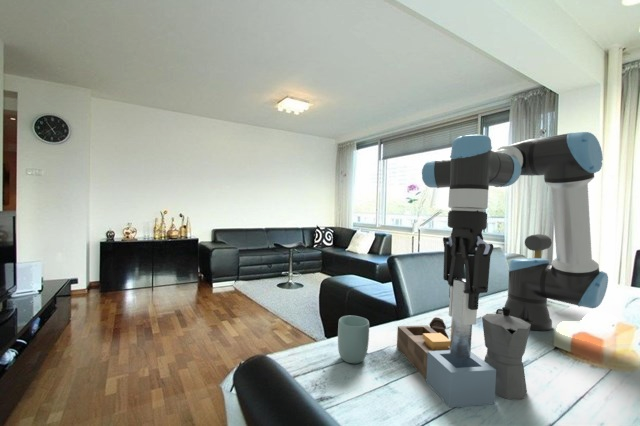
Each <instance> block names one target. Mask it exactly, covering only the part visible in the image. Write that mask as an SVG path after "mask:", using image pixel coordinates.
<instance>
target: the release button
mask: <svg viewBox="0 0 640 426" xmlns="http://www.w3.org/2000/svg"><path fill="white" fill-rule="evenodd" d="M423 339H424V340H425V344H426V345H428V346H429V347H430V348H431V349H432V350H445V349H448V346H450V340H451V339H450V338H449V339H448V338H447V337H445V336H444V335H443V334H441V333H423Z"/></svg>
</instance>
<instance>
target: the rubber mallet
mask: <svg viewBox="0 0 640 426" xmlns="http://www.w3.org/2000/svg"><path fill="white" fill-rule="evenodd" d="M524 246H525V247H526V248H527V249H528V250H529V251H532V252H533V251H534V255H533V256H534V257H533V258H541V259H542V251H544V250H548V249H549V248H551V246H552V239H551V238H550V237H549V236H548V235H546V234H538V233H537V234H531V235H528V236H527V237H526V238H525V239H524Z"/></svg>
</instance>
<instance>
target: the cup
mask: <svg viewBox="0 0 640 426" xmlns="http://www.w3.org/2000/svg"><path fill="white" fill-rule="evenodd" d="M337 326H338V328H337V350H338V354H339V357H340V358H341V359H342V360H343V361H344V362H345V363H348V364H360V363H362V362H363V361H364V360H365V359H366V356H367V354H368V353H367V352H368V349H369V342H370V341H369V340H370V339H369V338H370V321H369V320H368V319H367V318H365V317H362V316H358V315H350V314H349V315H343V316H341V317H340V318H339V319H338V325H337Z"/></svg>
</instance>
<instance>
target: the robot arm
mask: <svg viewBox="0 0 640 426" xmlns="http://www.w3.org/2000/svg"><path fill="white" fill-rule="evenodd" d="M601 147H602V146H601V143H600V141H599V139H598V138H597V136H595V135H594V134H593V133H591V132H589V131H581V132H578V131H577V132H569V133H568V132H567V133H564V134H556V135H550V136H545V137H537V138H530V139H527V140H523V141H519V142H516V143H512V144H509V145H504V146H501V147H498V149H496V150H492V149H493V147H492V140H491V137H490V136H488V135H485V134H467V135H462V136H458V137H456V138H455V139H454V140H453V141H452V143H451V152H450V156H449V157H448V158H441V159H437V158H436V159H434V160H429V161H427V162H425V163H424V165H423V166H422V170H421V179H422V182H423V184H424V185H425V186H426V187H428V188H434V189H435V188H436V189H442V188H443V189H444V188H449V191H448V205H447V207H448V208H449V209H450V210H449V211H448V212H447V227H448V228H451V229H452V231H451V233H450V236H443V238H442V243H443V248H444V249H443V275H442V276H443V278H442V279H443V280H444V281H446V282H447V284H448V286H449V291H448V293H449V294H448V297H449V301H448V302H449V303H448V305H449V306H448V316H449V317H451V318H452V301H453V281H454V279H463V274H464V272H465V276H464V277H465V279H466V289H467V290H463V291H464V293H463V313H462V324H464V325H472V326H473V325H477V314H478V313H477V312H478V309H479V297H480V294H487V293H488V291H489V280H490V267H491V265H490V264H491V256H492V253H493V250H494V245H493V243H488V242H486V241H484V237H483V230H486V229H487V228H488V213H487V212H486V211H485V210H487V209H488V208H489V207H488V206H489V205H488V203H489V189H490V188H489V187H496V188H502V187H503V188H504V187H510V186H511V185H513V184H515V183H516V182H517V181H518V180H519V178H520V177H521V176H528V177H529V176H543V179H544V183H545V184H547V185H548V186H549V187H550V189H551V190H550V191H551V201H552V213H553V214H552V215H553V226H554V227H553V228H554V241H555V253H556V258H554V260H552V261H551V263H550V259H547V258H542V257H541V258H534V257H533V258H532V257H526V258H525V257H524V258H513V259H511V260H510V261H509V266H508V267H509V268H508V272H507V273H508V283H507V284H508V285H507V299H506V301H505V303H504V306H503V307H508V308H510V309H511V310H510V314H509V316H513V317H516V318H520V319H522V320H524V321H525V322H527V323H529V324H531V327H530V330H532V331H540V332H541V331H542V332H544V331H545V330H546V331H551V330H552V329H551V328H552V327H553V320H552V319H551V316H550V311H549V308H548V304H547V303H548V299H549V300H552V301H557V302H561V303H565V304H569V305H574V306H577V307H579V308H580V307H584V308H588V309H596V308H598V307H599V306H600V305H601V303H602V302H603V300H604V298H605V296H606V293H607V289H608V283H609V276H608V273H607V272H604V271H602V270H600V265H599V263H598V262H597V261H596V260H594V259H593V255H592V237H591V221H590V219H591V218H590V201H589V187H588V186H589V185H588V184H589V183H590V182H591V181H592V180H594V179H595V174H596V173H597V172H600V170H601V169H602V167H603V160H604V158H603V151H602V148H601ZM472 286H473V287H472Z"/></svg>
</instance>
